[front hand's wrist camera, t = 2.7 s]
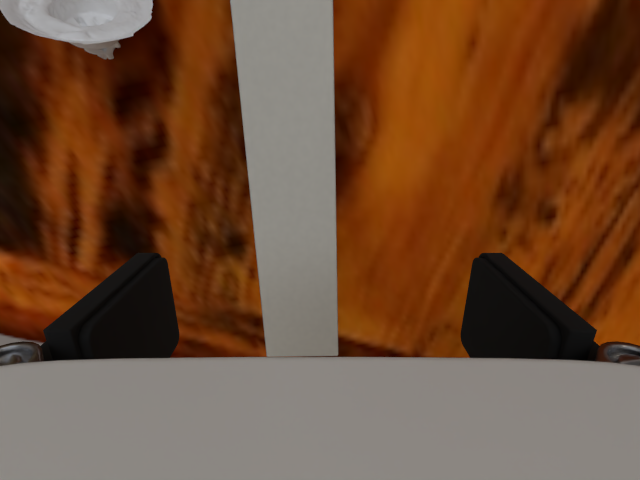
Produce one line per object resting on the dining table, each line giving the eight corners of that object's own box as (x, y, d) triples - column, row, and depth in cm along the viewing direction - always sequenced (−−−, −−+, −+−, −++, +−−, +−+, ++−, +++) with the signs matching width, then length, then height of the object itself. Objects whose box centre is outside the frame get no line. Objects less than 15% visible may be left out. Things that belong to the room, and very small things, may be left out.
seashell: (119, 35, 28) (-14, 20, 23) (122, -43, 25) (-34, -82, 19) (170, 95, 26) (35, 96, 20) (182, 19, 22) (23, -6, 17)
